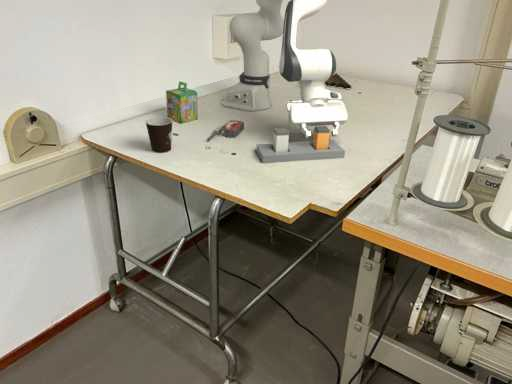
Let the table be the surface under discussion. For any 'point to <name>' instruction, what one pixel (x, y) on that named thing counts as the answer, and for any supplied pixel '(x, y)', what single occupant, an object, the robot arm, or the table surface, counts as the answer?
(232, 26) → the robot arm
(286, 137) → the white plug
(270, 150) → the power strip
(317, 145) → the orange plug
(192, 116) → the chalk box
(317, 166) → the table surface
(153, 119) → the coffee mug
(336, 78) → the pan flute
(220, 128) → the walkie-talkie
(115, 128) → the table surface
